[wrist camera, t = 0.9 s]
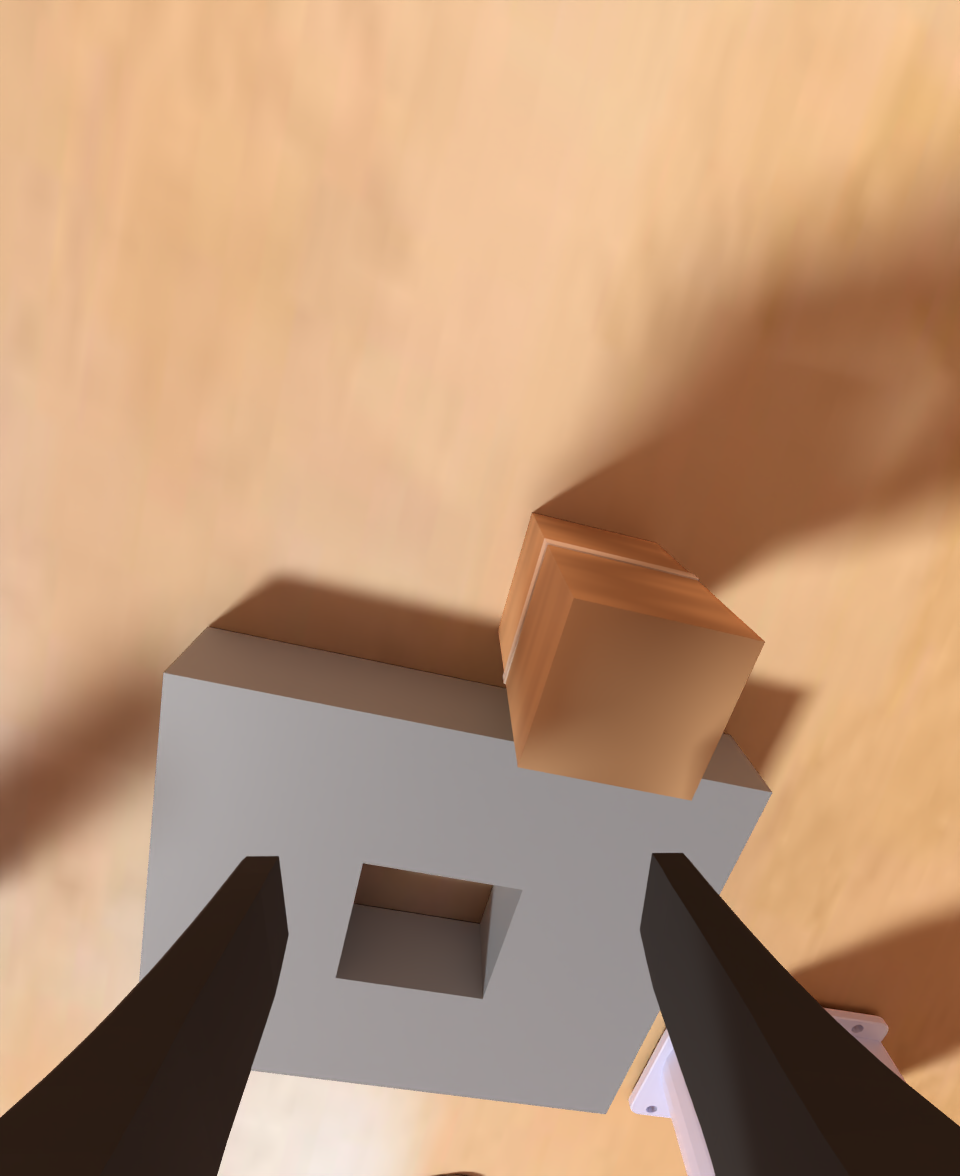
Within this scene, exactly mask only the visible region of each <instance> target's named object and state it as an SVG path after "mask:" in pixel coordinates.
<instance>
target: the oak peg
mask: <svg viewBox="0 0 960 1176" xmlns="http://www.w3.org/2000/svg"><path fill="white" fill-rule="evenodd" d="M498 633H499V640H500V647H501V654H502V661H503V668H504V674H503V681H504V684H506V689H507V696H508V703H509V710H510V717H511V724H512V731H513V738H514V745H515V752H516V759H517V766H518V767H519V768H524V769H529V770H535V771H540V772H545V773H550V774H555V775H561V776H566V777H571V778H576V779H581V780H587V781H592V782H597V783H602V784H607V785H613V786H618V787H623V788H628V789H633V790H639V791H644V792H649V793H654V794H659V795H665V796H670V797H675V798H680V799H685V800H690V801H692V798H693V796H694V794H695V792H696V790H697V788H698V785H699V783H700V781H701V779H702V777H703V775H704V773H705V770H706V768H707V766H708V764H709V762H710V760H711V757H712V755H713V753H714V751H715V749H716V747H717V744H718V742H719V740H720V738H721V736H722V734H723V731H724V729H725V727H726V725H727V723H728V721H729V719H730V716H731V714H732V712H733V710H734V708H735V706H736V703H737V701H738V699H739V697H740V695H741V693H742V690H743V688H744V686H745V684H746V682H747V680H748V678H749V675H750V673H751V671H752V669H753V667H754V665H755V662H756V660H757V658H758V656H759V654H760V652H761V649H762V647H763V645H764V643H765V641H764V640H763V639H761V638H760V637H759V636H758V635H757V634H756V633H755V632H754V631H753V630H752V629H750V628H749V627H748V626H747V625H746V624H745V623H744V622H743V621H742V620H741V619H739V618H738V617H737V616H736V615H735V614H734V613H733V612H732V611H731V610H730V609H728V608H727V607H726V606H725V605H724V604H723V603H722V602H721V601H720V600H719V599H717V598H716V597H715V596H714V595H713V594H712V593H711V592H710V591H709V590H708V589H706V588H705V587H704V586H703V585H702V584H701V583H700V582H699V578H698V577H696V576H695V575H694V574H692V573H689V572H688V571H687V570H686V569H684V568H683V567H682V566H681V565H680V564H679V563H678V562H677V561H676V560H675V559H673V558H672V557H671V556H670V555H669V554H668V553H667V552H666V551H665V550H664V549H662V548H661V547H660V546H659V545H658V544H657V543H655V542H651V541H647V540H643V539H639V538H634V537H630V536H626V535H622V534H618V533H614V532H610V531H606V530H602V529H598V528H594V527H590V526H585V525H581V524H577V523H573V522H569V521H565V520H561V519H557V518H553V517H549V516H545V515H540V514H536V513H532V515H531V518H530V522H529V525H528V529H527V532H526V535H525V539H524V542H523V546H522V549H521V553H520V556H519V560H518V563H517V566H516V570H515V573H514V577H513V580H512V584H511V587H510V591H509V594H508V598H507V601H506V604H505V608H504V611H503V615H502V618H501V622H500V625H499V629H498Z"/></svg>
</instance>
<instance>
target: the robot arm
mask: <svg viewBox="0 0 960 1176" xmlns="http://www.w3.org/2000/svg"><path fill="white" fill-rule="evenodd" d="M640 934H641V939H642V943H643V948H644V952H645V957H646V961H647V965H648V969H649V973H650V978H651V982H652V986H653V990H654V993H655V996H656V999H657V1002H658V1005H659V1007H660V1010H661V1013H662V1016H663V1019H664V1022H665V1025H666V1030H665V1031H664V1033H663V1035H662V1037H661V1039H660V1041H659V1043H658V1045H657V1047H656V1048H655V1050H654V1052H653V1054H652V1056H651V1058H650V1060H649V1062H648V1063H647V1065H646V1067H645V1069H644V1071H643V1073H642V1075H641V1077H640V1078H639V1080H638V1082H637V1084H636V1086H635V1088H634V1090H633V1092H632V1094H631V1095H630V1097H629V1104H630V1108H631V1111H633V1112H634V1113H637V1114H643V1115H651V1116H659V1117H667V1118H671V1119H672V1122H673V1126H674V1129H675V1133H676V1136H677V1140H678V1144H679V1147H680V1151H681V1154H682V1158H683V1161H684V1165H685V1168H686V1172H687V1176H960V1126H959V1125H957V1124H956V1123H955V1122H954V1121H952V1120H951V1119H950V1118H949V1117H947V1116H946V1115H945V1114H944V1113H942V1112H941V1111H940V1110H939V1109H938V1108H936V1107H935V1106H934V1105H933V1104H931V1103H930V1102H929V1101H928V1100H926V1099H925V1098H924V1097H923V1096H921V1095H920V1094H919V1093H918V1092H917V1091H915V1090H914V1089H913V1088H912V1087H910V1086H909V1085H908V1084H907V1083H906V1081H905V1080H904V1078H903V1077H902V1075H901V1073H900V1072H899V1070H898V1069H897V1067H896V1065H895V1064H894V1062H893V1061H892V1059H891V1057H890V1056H889V1054H888V1052H887V1051H886V1049H885V1048H884V1046H883V1044H882V1043H881V1041H882V1040H883V1038H884V1037H885V1036H886V1034H887V1033H888V1030H889V1028H888V1025H887V1024H886V1022H885V1021H884V1019H883V1018H882V1017H879V1016H875V1015H868V1014H862V1013H855V1012H849V1011H842V1010H836V1009H829V1008H823V1007H822V1006H821V1005H820V1004H819V1003H818V1002H817V1001H816V1000H815V999H814V998H813V997H812V996H811V995H810V994H809V993H808V992H807V991H806V990H805V989H804V988H803V987H802V986H801V985H800V984H799V983H798V982H797V981H796V980H795V979H794V978H793V977H792V976H791V975H790V974H789V972H788V971H787V970H786V969H785V968H784V967H783V966H782V965H781V964H780V963H779V962H778V961H777V960H776V959H775V958H774V957H773V955H772V954H771V953H770V952H769V951H768V950H767V949H766V948H765V947H764V946H763V944H762V943H761V942H760V941H759V940H758V939H757V938H756V937H755V936H754V935H753V933H752V932H751V931H750V930H749V929H748V928H747V927H746V926H745V925H744V923H743V922H742V921H741V920H740V919H739V918H738V917H737V915H736V914H735V913H734V912H733V911H732V910H731V908H730V907H729V906H728V905H727V904H726V903H725V901H724V900H723V899H722V898H721V897H720V896H719V894H718V893H717V892H716V891H715V890H714V889H713V887H712V886H711V885H710V884H709V883H708V881H707V880H706V879H705V878H704V877H703V875H702V874H701V873H700V872H699V871H698V869H697V868H696V867H695V866H694V865H693V864H692V862H691V861H690V860H689V859H688V858H687V857H686V856H685V854H684V853H652V856H651V862H650V868H649V874H648V881H647V887H646V893H645V899H644V906H643V912H642V918H641V924H640ZM288 936H289V932H288V924H287V916H286V908H285V900H284V892H283V884H282V877H281V869H280V861H279V856H246V857H245V858H244V859H243V860H242V861H241V862H240V863H239V865H238V866H237V867H236V868H235V870H234V871H233V872H232V874H231V875H230V876H229V877H228V879H227V880H226V881H225V882H224V884H223V885H222V886H221V887H220V889H219V890H218V891H217V892H216V894H215V895H214V896H213V897H212V899H211V900H210V901H209V902H208V904H207V905H206V906H205V907H204V908H203V910H202V911H201V912H200V913H199V915H198V916H197V917H196V918H195V919H194V921H193V922H192V923H191V924H190V925H189V927H188V928H187V929H186V930H185V931H184V932H183V934H182V935H181V936H180V937H179V938H178V939H177V941H176V942H175V943H174V944H173V945H172V946H171V948H170V949H169V950H168V951H167V952H166V953H165V954H164V956H163V957H162V958H161V959H160V960H159V961H158V963H157V964H156V965H155V966H154V967H153V968H152V969H151V970H150V971H149V972H148V974H147V975H146V976H145V977H144V978H143V979H142V980H141V981H140V982H139V983H138V984H137V985H136V986H135V988H134V989H133V990H132V991H131V992H130V993H129V994H128V995H127V996H126V997H125V998H124V999H123V1000H122V1002H121V1003H120V1004H119V1005H118V1006H117V1007H116V1008H115V1009H114V1010H113V1011H112V1012H111V1013H110V1014H109V1015H108V1016H107V1017H106V1018H105V1019H104V1020H103V1021H102V1022H101V1023H100V1024H99V1025H98V1027H97V1028H96V1029H95V1030H94V1031H93V1032H92V1033H91V1034H90V1035H89V1036H88V1037H87V1038H86V1039H85V1040H84V1041H83V1042H82V1043H80V1044H79V1045H78V1046H77V1047H76V1048H75V1049H74V1050H73V1051H72V1052H71V1053H70V1054H69V1055H68V1056H67V1057H66V1058H65V1059H64V1060H63V1061H62V1062H61V1063H60V1064H59V1065H58V1066H57V1067H56V1068H54V1069H53V1070H52V1071H51V1072H50V1073H49V1074H48V1075H47V1076H46V1077H45V1078H44V1079H43V1080H42V1081H41V1082H39V1083H38V1084H37V1085H36V1086H35V1087H34V1088H33V1089H32V1090H31V1091H29V1092H28V1093H27V1094H26V1095H25V1096H24V1097H23V1098H22V1099H21V1100H19V1101H18V1102H17V1103H16V1104H15V1105H14V1106H13V1107H12V1108H11V1109H9V1110H8V1111H7V1112H6V1113H5V1114H4V1115H3V1116H2V1117H1V1118H0V1176H217V1174H218V1170H219V1167H220V1164H221V1160H222V1157H223V1153H224V1150H225V1147H226V1143H227V1140H228V1137H229V1134H230V1131H231V1128H232V1125H233V1122H234V1119H235V1116H236V1113H237V1110H238V1107H239V1104H240V1101H241V1098H242V1095H243V1092H244V1089H245V1086H246V1083H247V1080H248V1077H249V1074H250V1071H251V1068H252V1065H253V1062H254V1059H255V1056H256V1053H257V1050H258V1047H259V1044H260V1041H261V1038H262V1035H263V1032H264V1029H265V1026H266V1023H267V1019H268V1016H269V1013H270V1010H271V1007H272V1004H273V1001H274V998H275V995H276V990H277V986H278V982H279V977H280V973H281V969H282V964H283V959H284V955H285V950H286V945H287V941H288Z"/></svg>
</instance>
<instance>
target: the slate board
mask: <svg viewBox="0 0 960 1176" xmlns="http://www.w3.org/2000/svg"><path fill="white" fill-rule="evenodd" d="M771 794H772V791H771V790H770V789H769V787H768V786H767V785H766V783H765V782H764V780H763V779H762V778H761V776H760V775H759V774H758V772H757V771H756V769H755V768H754V767H753V765H752V764H751V763H750V761H749V760H748V758H747V757H746V756H745V754H744V753H743V752H742V750H741V749H740V748H739V746H738V745H737V743H736V742H735V741H734V739H733V738H732V737H731V735H728V734H722V736H721V738H720V740H719V742H718V744H717V747H716V749H715V751H714V753H713V755H712V757H711V760H710V762H709V764H708V766H707V768H706V770H705V773H704V775H703V777H702V779H701V781H700V783H699V785H698V788H697V790H696V792H695V794H694V796H693V798H692V801H690V800H685V799H680V798H675V797H670V796H665V795H659V794H654V793H649V792H644V791H639V790H633V789H628V788H623V787H618V786H613V785H607V784H602V783H597V782H592V781H587V780H581V779H576V778H571V777H566V776H561V775H555V774H550V773H545V772H540V771H535V770H529V769H524V768H519V767H518V766H517V759H516V752H515V745H514V738H513V731H512V724H511V717H510V710H509V703H508V696H507V689H506V688H501V687H496V686H492V685H487V684H482V683H477V682H472V681H467V680H463V679H458V678H453V677H448V676H443V675H439V674H434V673H429V672H424V671H419V670H414V669H410V668H405V667H400V666H395V665H390V664H385V663H381V662H376V661H371V660H366V659H361V658H357V657H352V656H347V655H342V654H337V653H332V652H328V651H323V650H318V649H313V648H308V647H303V646H299V645H294V644H289V643H284V642H279V641H275V640H270V639H265V638H260V637H255V636H250V635H246V634H241V633H236V632H231V631H226V630H221V629H217V628H212V627H207V628H206V629H205V630H204V631H203V632H202V633H201V634H200V635H199V636H198V637H197V638H196V639H195V640H194V641H193V643H192V644H191V645H190V646H189V647H188V648H187V649H186V650H185V651H184V652H183V653H182V654H181V655H180V656H179V657H178V658H177V659H176V660H175V661H174V662H173V663H172V664H171V665H170V667H169V668H168V669H167V670H166V671H165V672H164V673H163V686H162V698H161V711H160V724H159V737H158V749H157V762H156V775H155V788H154V800H153V813H152V826H151V839H150V851H149V864H148V877H147V889H146V902H145V915H144V928H143V940H142V953H141V966H140V979H139V982H140V981H141V980H142V979H143V978H144V977H145V976H146V975H147V974H148V972H149V971H150V970H151V969H152V968H153V967H154V966H155V965H156V964H157V963H158V961H159V960H160V959H161V958H162V957H163V956H164V954H165V953H166V952H167V951H168V950H169V949H170V948H171V946H172V945H173V944H174V943H175V942H176V941H177V939H178V938H179V937H180V936H181V935H182V934H183V932H184V931H185V930H186V929H187V928H188V927H189V925H190V924H191V923H192V922H193V921H194V919H195V918H196V917H197V916H198V915H199V913H200V912H201V911H202V910H203V908H204V907H205V906H206V905H207V904H208V902H209V901H210V900H211V899H212V897H213V896H214V895H215V894H216V892H217V891H218V890H219V889H220V887H221V886H222V885H223V884H224V882H225V881H226V880H227V879H228V877H229V876H230V875H231V874H232V872H233V871H234V870H235V868H236V867H237V866H238V865H239V863H240V862H241V861H242V860H243V859H244V858H245V857H246V856H279V861H280V869H281V877H282V884H283V892H284V900H285V908H286V916H287V924H288V932H289V936H288V941H287V945H286V950H285V955H284V959H283V964H282V969H281V973H280V977H279V982H278V986H277V990H276V995H275V998H274V1001H273V1004H272V1007H271V1010H270V1013H269V1016H268V1019H267V1023H266V1026H265V1029H264V1032H263V1035H262V1038H261V1041H260V1044H259V1047H258V1050H257V1053H256V1056H255V1059H254V1062H253V1065H252V1068H251V1071H259V1072H267V1073H275V1074H284V1075H292V1076H300V1077H308V1078H316V1079H324V1080H332V1081H340V1082H349V1083H357V1084H365V1085H373V1086H381V1087H389V1088H397V1089H405V1090H413V1091H422V1092H430V1093H438V1094H446V1095H454V1096H462V1097H470V1098H478V1099H487V1100H495V1101H503V1102H511V1103H519V1104H527V1105H535V1106H543V1107H551V1108H560V1109H568V1110H576V1111H584V1112H592V1113H600V1114H606V1113H607V1111H608V1109H609V1107H610V1105H611V1103H612V1101H613V1099H614V1097H615V1095H616V1093H617V1092H618V1090H619V1088H620V1086H621V1084H622V1082H623V1080H624V1078H625V1076H626V1074H627V1072H628V1070H629V1068H630V1066H631V1065H632V1063H633V1061H634V1059H635V1057H636V1055H637V1053H638V1051H639V1049H640V1047H641V1045H642V1043H643V1041H644V1039H645V1038H646V1036H647V1034H648V1032H649V1030H650V1028H651V1026H652V1024H653V1022H654V1020H655V1018H656V1016H657V1014H658V1012H659V1010H660V1007H659V1005H658V1002H657V999H656V996H655V993H654V990H653V986H652V982H651V978H650V973H649V969H648V965H647V961H646V957H645V952H644V948H643V943H642V939H641V934H640V924H641V918H642V912H643V906H644V899H645V893H646V887H647V881H648V874H649V868H650V862H651V856H652V853H684V854H685V856H686V857H687V858H688V859H689V860H690V861H691V862H692V864H693V865H694V866H695V867H696V868H697V869H698V871H699V872H700V873H701V874H702V875H703V877H704V878H705V879H706V880H707V881H708V883H709V884H710V885H711V886H712V887H713V889H714V890H715V891H716V892H717V893H718V894H719V895H720V893H721V891H722V889H723V887H724V885H725V883H726V881H727V879H728V877H729V875H730V873H731V872H732V870H733V868H734V866H735V864H736V862H737V860H738V858H739V856H740V854H741V852H742V850H743V848H744V846H745V844H746V843H747V841H748V839H749V837H750V835H751V833H752V831H753V829H754V827H755V825H756V823H757V821H758V819H759V817H760V816H761V814H762V812H763V810H764V808H765V806H766V804H767V802H768V800H769V798H770V796H771ZM363 863H365V864H371V865H377V866H383V867H389V868H395V869H401V870H407V871H413V872H419V873H425V874H431V875H437V876H443V877H448V878H454V879H460V880H466V881H472V882H478V883H484V884H490V885H493V888H492V890H491V893H490V896H489V899H488V902H487V905H486V908H485V911H484V914H483V917H482V920H481V923H480V924H478V923H471V922H465V921H459V920H452V919H446V918H440V917H434V916H427V915H421V914H415V913H408V912H402V911H396V910H389V909H383V908H377V907H370V906H364V905H358V904H353V903H354V899H355V894H356V890H357V886H358V882H359V878H360V873H361V869H362V865H363Z"/></svg>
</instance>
